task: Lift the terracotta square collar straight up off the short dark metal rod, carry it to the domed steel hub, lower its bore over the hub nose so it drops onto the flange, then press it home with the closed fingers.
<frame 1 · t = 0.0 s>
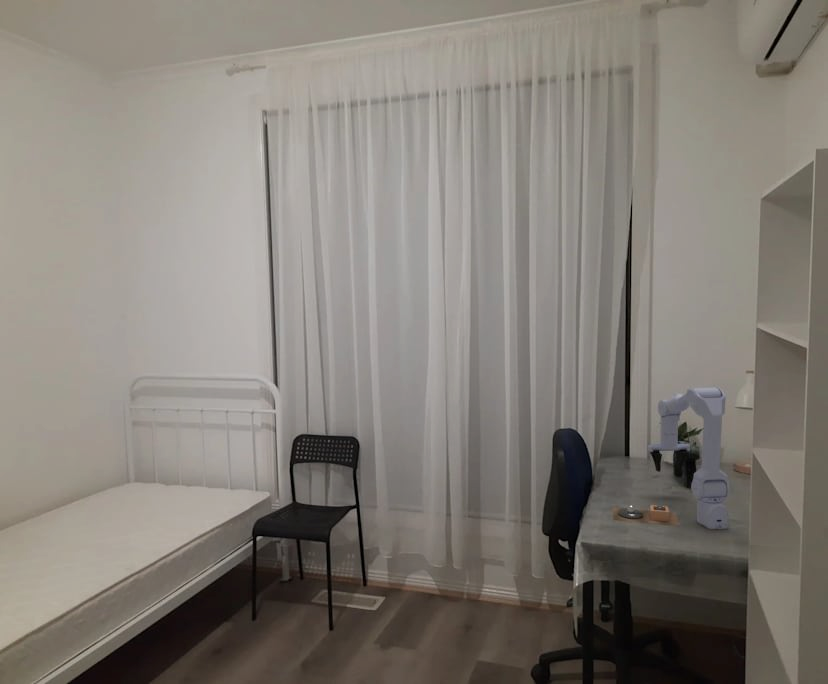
hand: (668, 470, 227), 10 cm above the table, tool pointing down, fingers open, 7 cm apart
walnut board: (644, 520, 206), on the table
hub: (630, 519, 207), resting on walnut board
stand rod: (659, 522, 204), resting on walnut board
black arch: (683, 482, 247), on the table
collar: (659, 517, 204), point 1 cm above the table, touching walnut board
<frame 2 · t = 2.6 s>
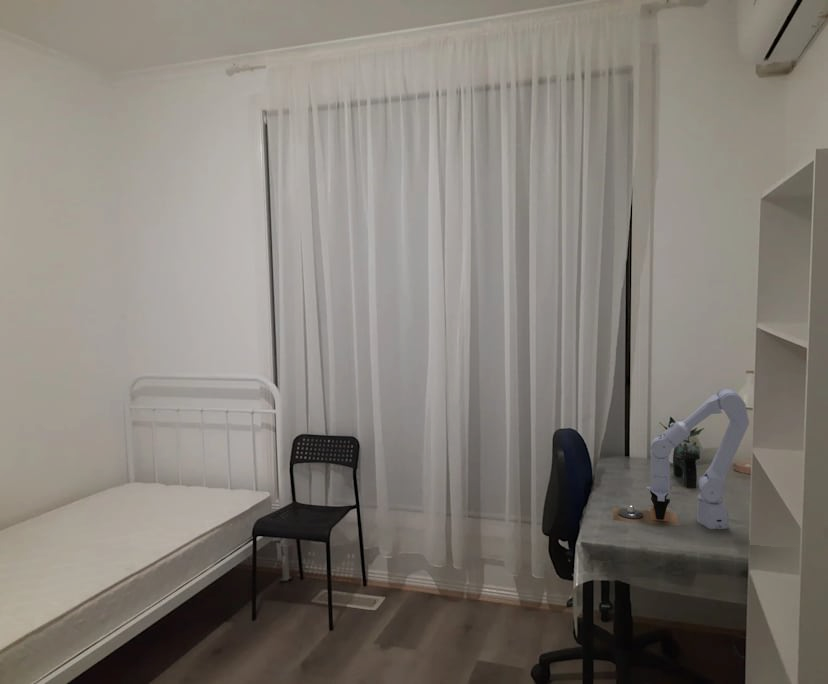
hand: (659, 516, 204), 2 cm above the table, tool pointing down, fingers closed on collar, 5 cm apart
collar: (659, 517, 204), point 1 cm above the table, touching gripper, walnut board
everything else where it was.
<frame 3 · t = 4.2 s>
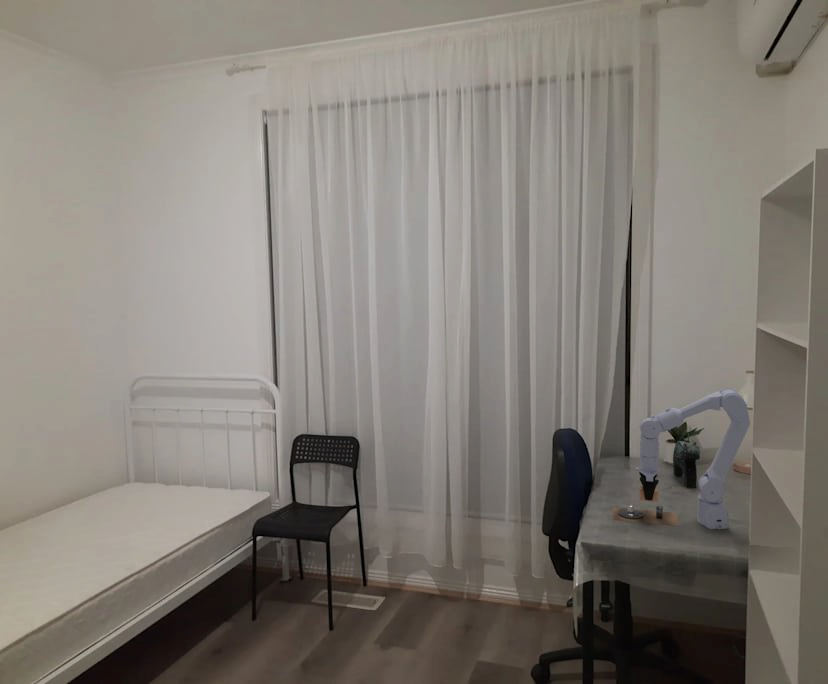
hand: (648, 496, 205), 8 cm above the table, tool pointing down, fingers closed on collar, 5 cm apart
collar: (648, 498, 205), point 8 cm above the table, touching gripper
everything else where it was.
when the fingers open (4 cm above the table, at t = 5.8 s): collar drops 1 cm, resting on hub.
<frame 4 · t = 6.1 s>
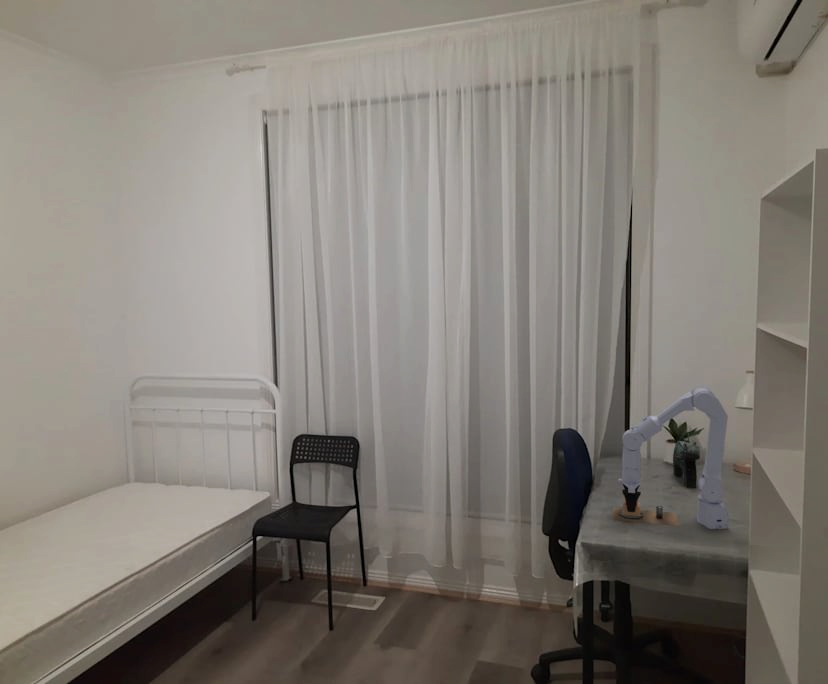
hand: (631, 507, 207), 4 cm above the table, tool pointing down, fingers open, 7 cm apart
collar: (631, 512, 207), point 2 cm above the table, touching hub
everything else where it was.
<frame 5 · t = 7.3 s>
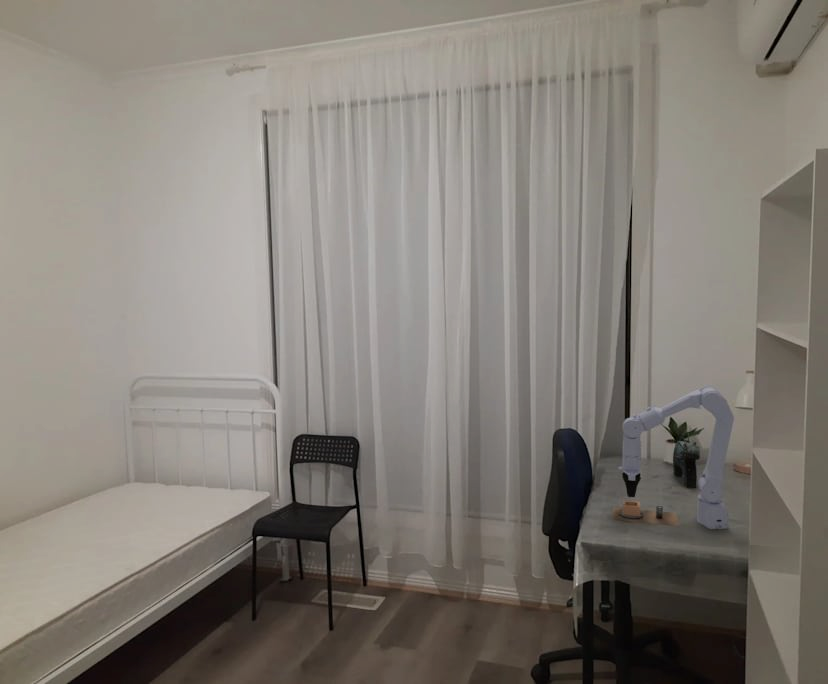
hand: (631, 495, 206), 8 cm above the table, tool pointing down, fingers closed
nothing on the table moved.
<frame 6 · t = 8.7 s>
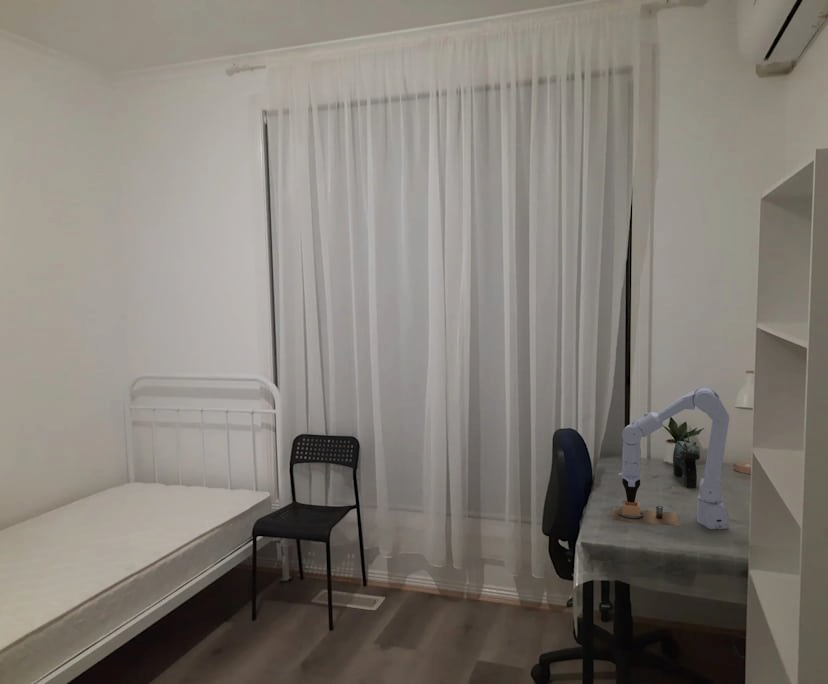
hand: (630, 501, 209), 5 cm above the table, tool pointing down, fingers closed, pressing on collar
collar: (631, 512, 207), point 2 cm above the table, touching gripper, hub
everything else where it was.
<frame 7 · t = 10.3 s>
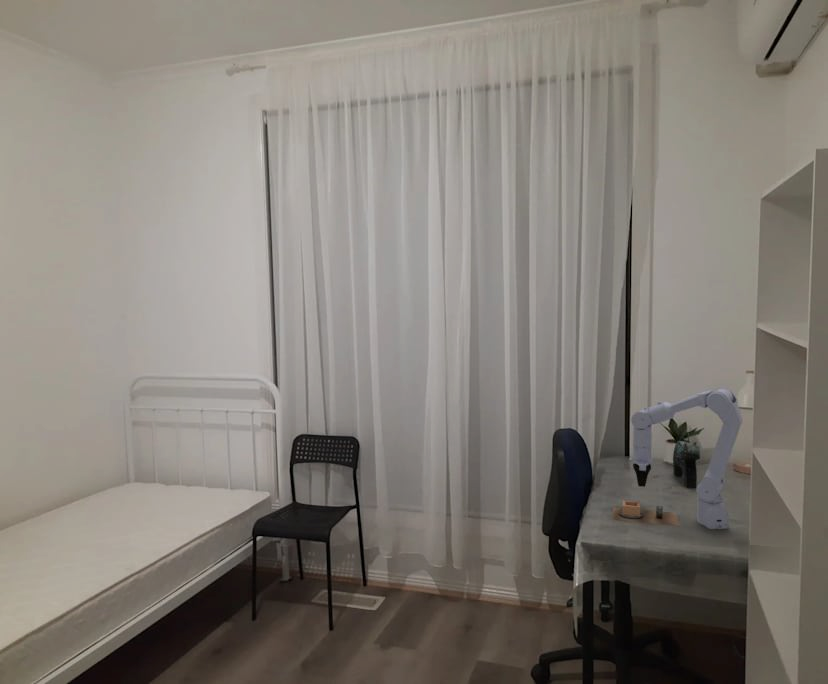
hand: (641, 485, 212), 9 cm above the table, tool pointing down, fingers closed
collar: (631, 512, 207), point 2 cm above the table, touching hub
everything else where it was.
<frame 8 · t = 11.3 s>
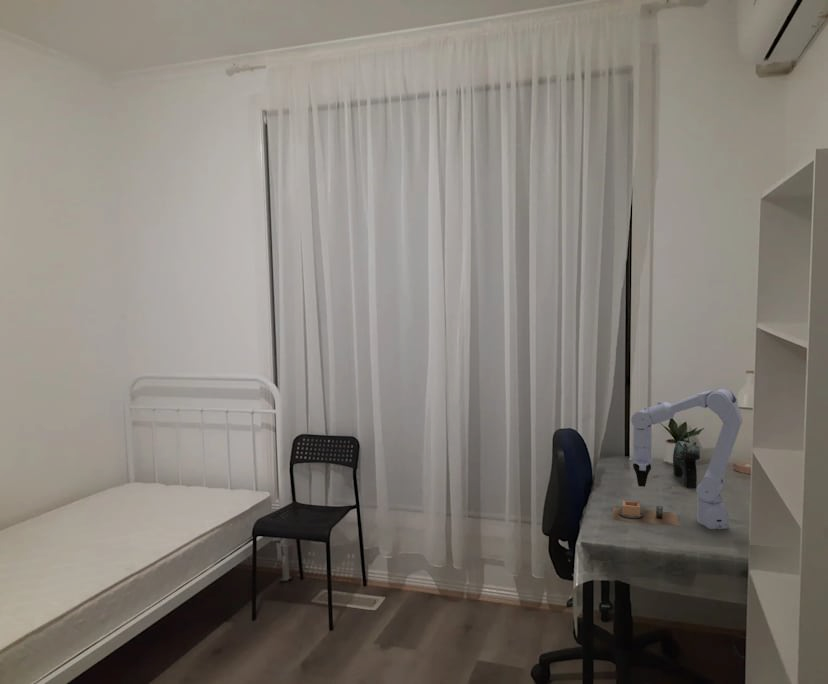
hand: (641, 485, 212), 9 cm above the table, tool pointing down, fingers closed
nothing on the table moved.
at the end: collar 0.1 cm off-centre on the hub, point 2.3 cm above the hub's base; collar tilted 0°; the gripper is holding nothing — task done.
